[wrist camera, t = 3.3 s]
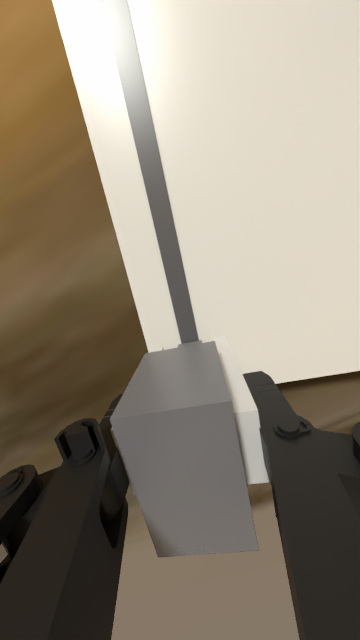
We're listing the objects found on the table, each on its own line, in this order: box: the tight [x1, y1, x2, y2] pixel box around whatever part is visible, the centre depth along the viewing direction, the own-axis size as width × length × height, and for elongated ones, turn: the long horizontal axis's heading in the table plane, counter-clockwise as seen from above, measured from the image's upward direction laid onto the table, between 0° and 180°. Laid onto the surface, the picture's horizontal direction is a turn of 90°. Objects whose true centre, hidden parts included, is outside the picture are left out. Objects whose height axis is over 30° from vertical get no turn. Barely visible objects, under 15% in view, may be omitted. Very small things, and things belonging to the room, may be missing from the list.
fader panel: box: [52, 0, 360, 384], centre depth 13 cm, size 18×26×3 cm
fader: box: [110, 340, 259, 557], centre depth 10 cm, size 3×5×9 cm, turn 13°
